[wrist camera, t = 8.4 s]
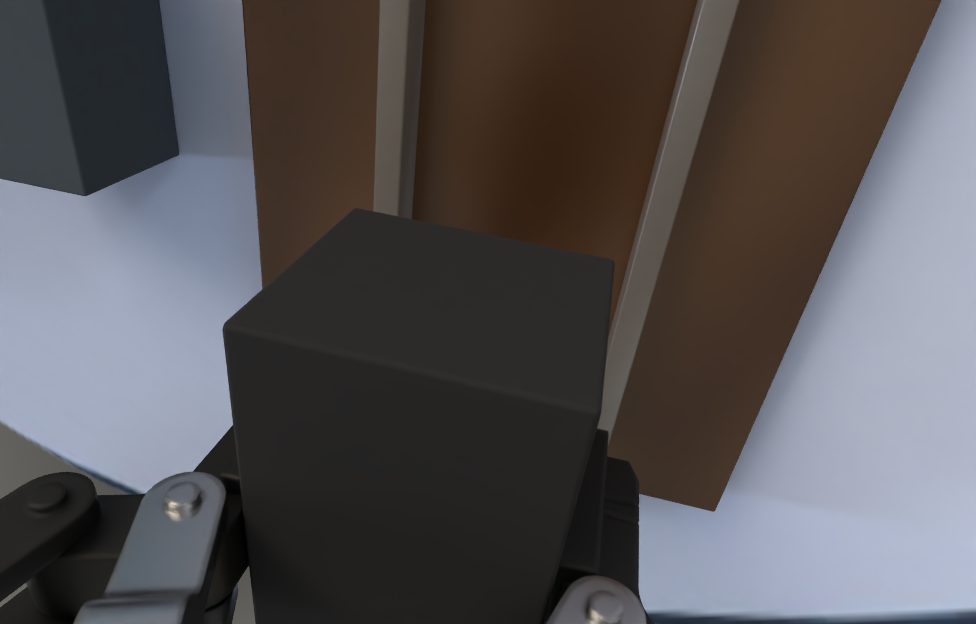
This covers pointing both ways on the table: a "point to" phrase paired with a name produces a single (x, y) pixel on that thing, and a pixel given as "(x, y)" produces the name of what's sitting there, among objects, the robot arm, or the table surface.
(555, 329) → the pad
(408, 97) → the mount board
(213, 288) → the table surface
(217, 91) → the table surface
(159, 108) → the pad
